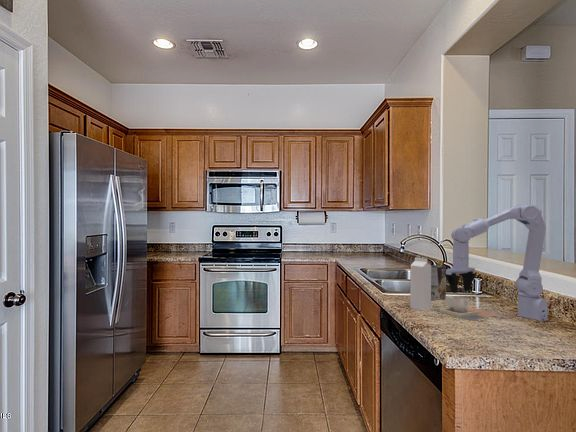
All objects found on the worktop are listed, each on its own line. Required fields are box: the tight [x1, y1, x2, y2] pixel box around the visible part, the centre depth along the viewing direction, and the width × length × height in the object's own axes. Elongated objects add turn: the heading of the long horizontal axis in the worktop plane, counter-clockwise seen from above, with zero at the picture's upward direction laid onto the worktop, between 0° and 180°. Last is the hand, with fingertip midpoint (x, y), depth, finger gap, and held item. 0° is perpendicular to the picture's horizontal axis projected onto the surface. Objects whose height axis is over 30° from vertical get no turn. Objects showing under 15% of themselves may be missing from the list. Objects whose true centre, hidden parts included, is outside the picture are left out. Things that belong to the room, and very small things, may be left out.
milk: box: [409, 257, 432, 312], centre depth 163 cm, size 6×6×22 cm
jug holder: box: [432, 306, 502, 321], centre depth 156 cm, size 18×19×2 cm
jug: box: [445, 295, 471, 314], centre depth 156 cm, size 10×5×6 cm, turn 28°
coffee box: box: [430, 264, 447, 302], centre depth 184 cm, size 9×6×16 cm
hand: (460, 291), depth 155 cm, fingers open, 7 cm apart
